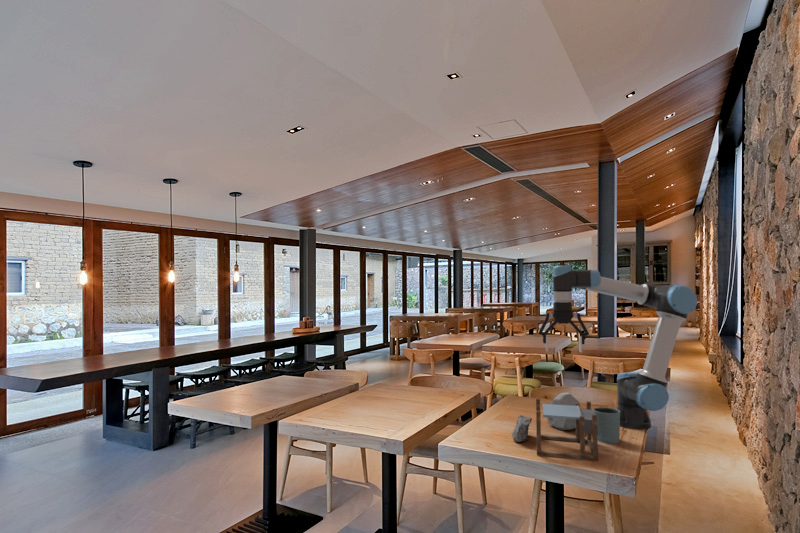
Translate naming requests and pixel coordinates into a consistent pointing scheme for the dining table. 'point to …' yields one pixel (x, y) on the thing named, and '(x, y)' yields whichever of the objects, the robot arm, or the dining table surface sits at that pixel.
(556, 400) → the stone
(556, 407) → the grey hammer-shaped piece
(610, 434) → the grey-green cylindrical pot
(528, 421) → the rock
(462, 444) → the dining table surface
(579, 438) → the brown wooden frame
